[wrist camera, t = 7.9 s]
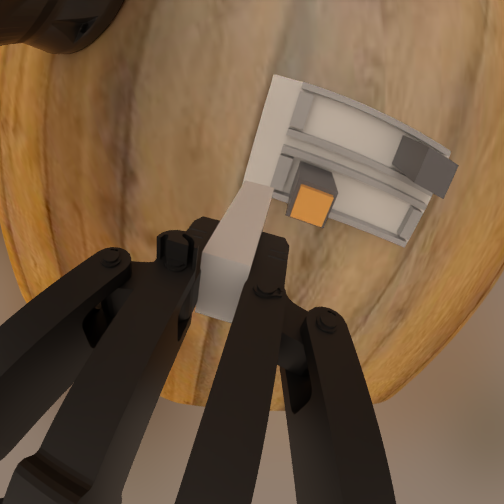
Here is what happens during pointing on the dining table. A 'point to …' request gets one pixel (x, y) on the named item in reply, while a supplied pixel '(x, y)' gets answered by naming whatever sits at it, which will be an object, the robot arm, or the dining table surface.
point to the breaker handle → (312, 195)
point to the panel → (349, 157)
